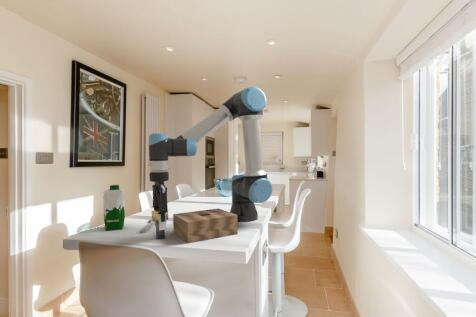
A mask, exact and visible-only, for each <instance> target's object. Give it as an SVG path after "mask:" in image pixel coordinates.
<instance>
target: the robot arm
mask: <svg viewBox="0 0 476 317" xmlns="http://www.w3.org/2000/svg"><path fill="white" fill-rule="evenodd" d="M266 105H267V97H266V94H265V92H264V91H262V90H261V88H259V87H257V86H249V87H246V88H244V89H242V90H240V91H238V92H236V93H234V94H233V95H232V96H230V97H229V98H228V99H227V100H226V101H225V102H223V103H221V104H220V105H219V108H218V109H217V110H215V111H214V112H211V113H210V114H209V115H207V116H206V117H205V118H203V119H201V120H200V121H199V122H197V123H196V124H195V125H193V126H191V127H190V128H188V129H187V130H186V131H184V132H183V133H181V134H180V135H178V136H177V137H176V138H170V137H169V135H168V134H167V133H162V132H160V133H159V132H156V133H153V132H152V133H150V134H149V136H148V157H149V158H148V160H149V162H148V164H147V166H148V168H149V171H150V172H149V173H148V174H149V182H153V183H154V184H153V185H152V208H153V211H154V210H159V212H158V214H159V230H165V231H166V230H167V220H166V212H168V213H169V208H168V187H166V185H165V182H167V181H169V179H170V178H169V177H170V175H169V168H170V167H169V166H170V165H169V157H174V158H175V157H195V156H197V152H198V144H197V143H199V142H201V141H202V140H203V139H205V138H206V137H208V136H209V135H210V134H212V133H213V132H214V131H216V130H217V129H219V128H220V127H222V126H224V125H225V124H226V123H228V122H232V121H234V120H235V119H239V120H240V121H241V126H242V137H243V138H242V139H243V153H244V166H245V167H244V168H245V172H244V173H241V174H235V175H233V176H232V177H231V182H230V184H231V206H230V210H229V212H230V213H233V214H236V215H237V220H238V222H240V223H241V222H252V221H256V220H258V219H259V214H258V211H257V207H256V203H257V204H263V203H265V202H267V201H268V200H270V197H271V196H272V194H273V189H274V187H273V184H272V182H271V181H270V180H269V179H268V173H267V172H266V171H265V170H264V157H263V156H264V155H263V145H262V143H263V141H262V130H261V119H262V118H263V117H264V114H263V110H264V109H265V107H266ZM154 227H155V228H156V222H155V225H154Z"/></svg>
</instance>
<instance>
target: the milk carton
mask: <svg viewBox="0 0 476 317" xmlns="http://www.w3.org/2000/svg"><path fill="white" fill-rule="evenodd" d="M102 199H103V219H104V230H105V231H118V230H119V231H120V230H123V228H124V226H125V220H126V219H125V218H126V212H125V211H126V210H125V208H126V207H125V203H126V202H125V201H126V200H125V189H124V188H120V185H119V184H112V185H109V189H106V190H104V191H103V198H102Z"/></svg>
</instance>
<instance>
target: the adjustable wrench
mask: <svg viewBox="0 0 476 317" xmlns="http://www.w3.org/2000/svg"><path fill="white" fill-rule="evenodd" d="M153 227H155V221H152V218H149V219H148V224H146V225H145V226H144V227H142V228H141V229H140V231H139V232H140V234H146V233H147V232H149V231H150V230H151V229H152V228H153Z"/></svg>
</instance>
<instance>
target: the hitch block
mask: <svg viewBox="0 0 476 317" xmlns="http://www.w3.org/2000/svg"><path fill="white" fill-rule="evenodd" d="M172 218H173V220H172V221H173V223H172V224H173V234H175V235H176V236H178V237H179V238H180V239H182V240H183V241H184V242H186V243H187V244H190V243H191V244H192V243H197V242H203V241H207V240H212V239H217V238H223V237H230V236H235V235H238V234H239V233H238V232H239V230H238V228H239V227H238V226H239V224H238V222H239V221H238V220H237V215H236V214H233V213H230V211H228V210H223V209H221V208H211V209H203V210H194V211H188V212H187V211H186V212H181V213H174V214H172Z"/></svg>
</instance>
